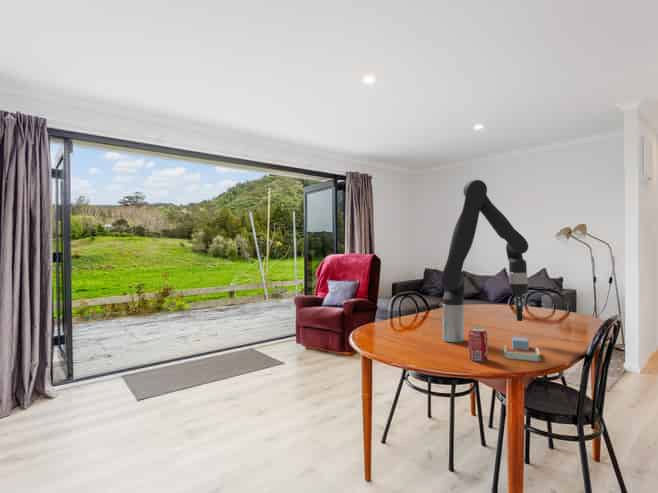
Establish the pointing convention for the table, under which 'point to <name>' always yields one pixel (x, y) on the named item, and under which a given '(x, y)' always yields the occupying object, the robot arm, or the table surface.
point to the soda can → (478, 344)
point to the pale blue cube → (520, 343)
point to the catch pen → (522, 355)
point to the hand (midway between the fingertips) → (519, 320)
